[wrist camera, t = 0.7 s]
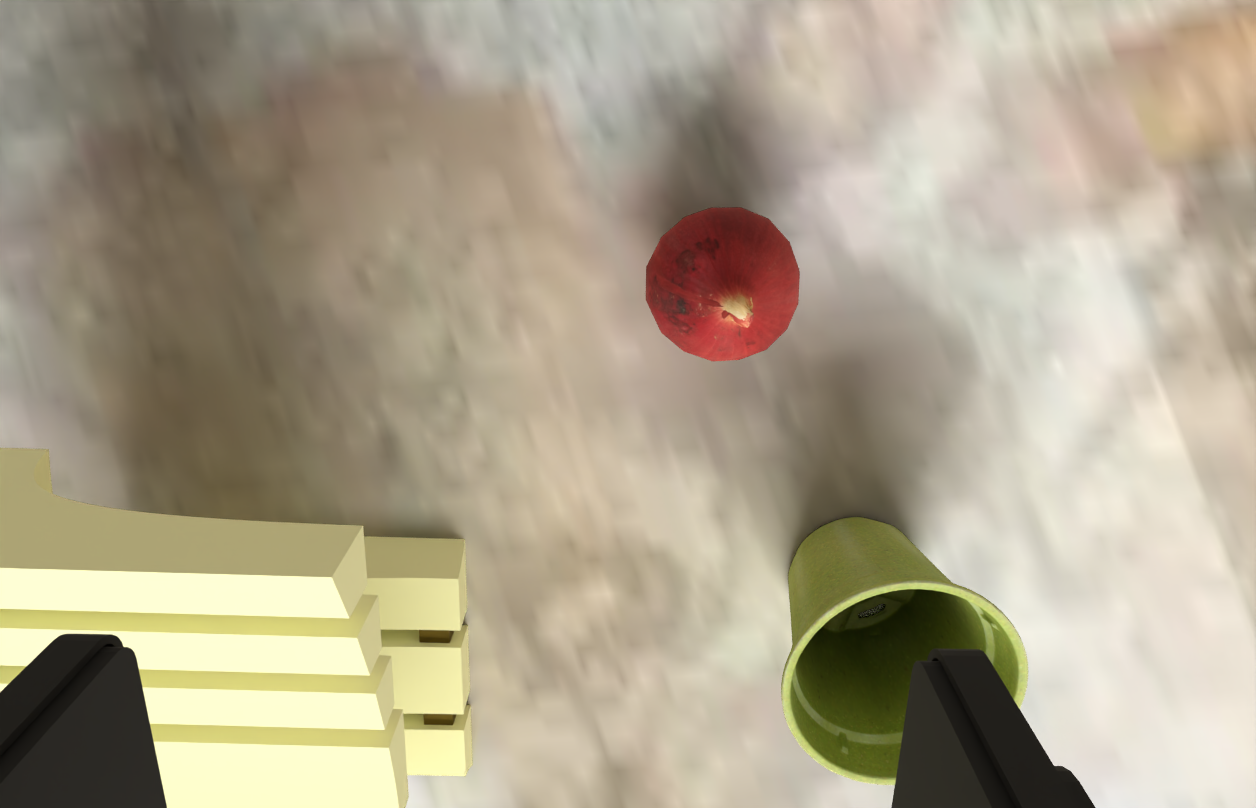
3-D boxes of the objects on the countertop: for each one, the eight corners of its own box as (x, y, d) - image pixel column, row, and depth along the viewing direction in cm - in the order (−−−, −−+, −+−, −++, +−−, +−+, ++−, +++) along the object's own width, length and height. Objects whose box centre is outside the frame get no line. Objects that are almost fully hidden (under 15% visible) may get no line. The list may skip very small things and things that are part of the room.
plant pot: (984, 602, 43) (1066, 723, 35) (809, 687, 45) (848, 821, 37) (900, 447, 41) (968, 539, 32) (717, 543, 42) (738, 653, 34)
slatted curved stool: (92, 355, 39) (-309, 559, 23) (459, 366, 39) (331, 577, 23) (185, 882, 49) (-45, 1294, 33) (476, 889, 49) (397, 1304, 33)
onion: (644, 332, 39) (647, 393, 31) (644, 196, 37) (647, 225, 29) (779, 332, 39) (815, 392, 31) (786, 195, 37) (826, 224, 29)
